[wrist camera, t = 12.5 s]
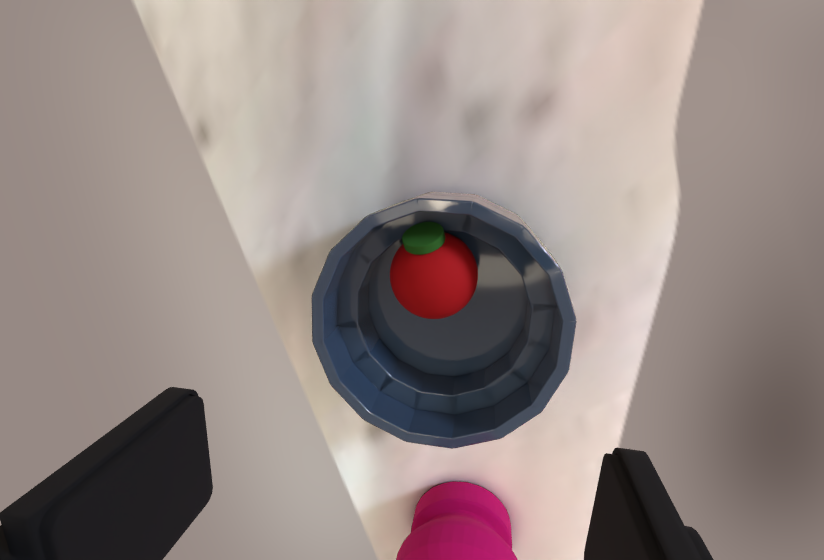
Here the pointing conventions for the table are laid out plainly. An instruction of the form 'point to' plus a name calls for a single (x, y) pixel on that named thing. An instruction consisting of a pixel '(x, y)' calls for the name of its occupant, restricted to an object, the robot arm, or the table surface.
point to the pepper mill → (459, 526)
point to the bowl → (445, 327)
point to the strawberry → (433, 272)
